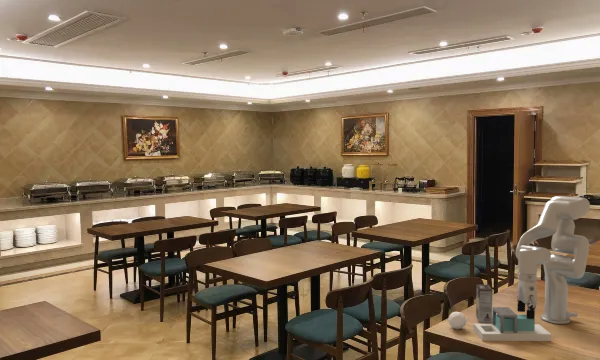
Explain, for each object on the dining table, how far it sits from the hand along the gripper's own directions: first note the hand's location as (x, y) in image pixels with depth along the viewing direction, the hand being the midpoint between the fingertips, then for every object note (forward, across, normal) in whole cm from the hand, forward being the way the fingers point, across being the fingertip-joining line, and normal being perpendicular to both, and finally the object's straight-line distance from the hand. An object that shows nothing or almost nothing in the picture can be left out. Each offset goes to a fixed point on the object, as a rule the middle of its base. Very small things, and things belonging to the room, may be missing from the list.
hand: (525, 315), depth 213 cm
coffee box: (+10, +21, +11) cm, 25 cm away
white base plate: (+10, +1, +6) cm, 11 cm away
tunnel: (+7, +1, +9) cm, 11 cm away
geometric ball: (+10, +9, +27) cm, 30 cm away
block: (+6, +1, +4) cm, 8 cm away
